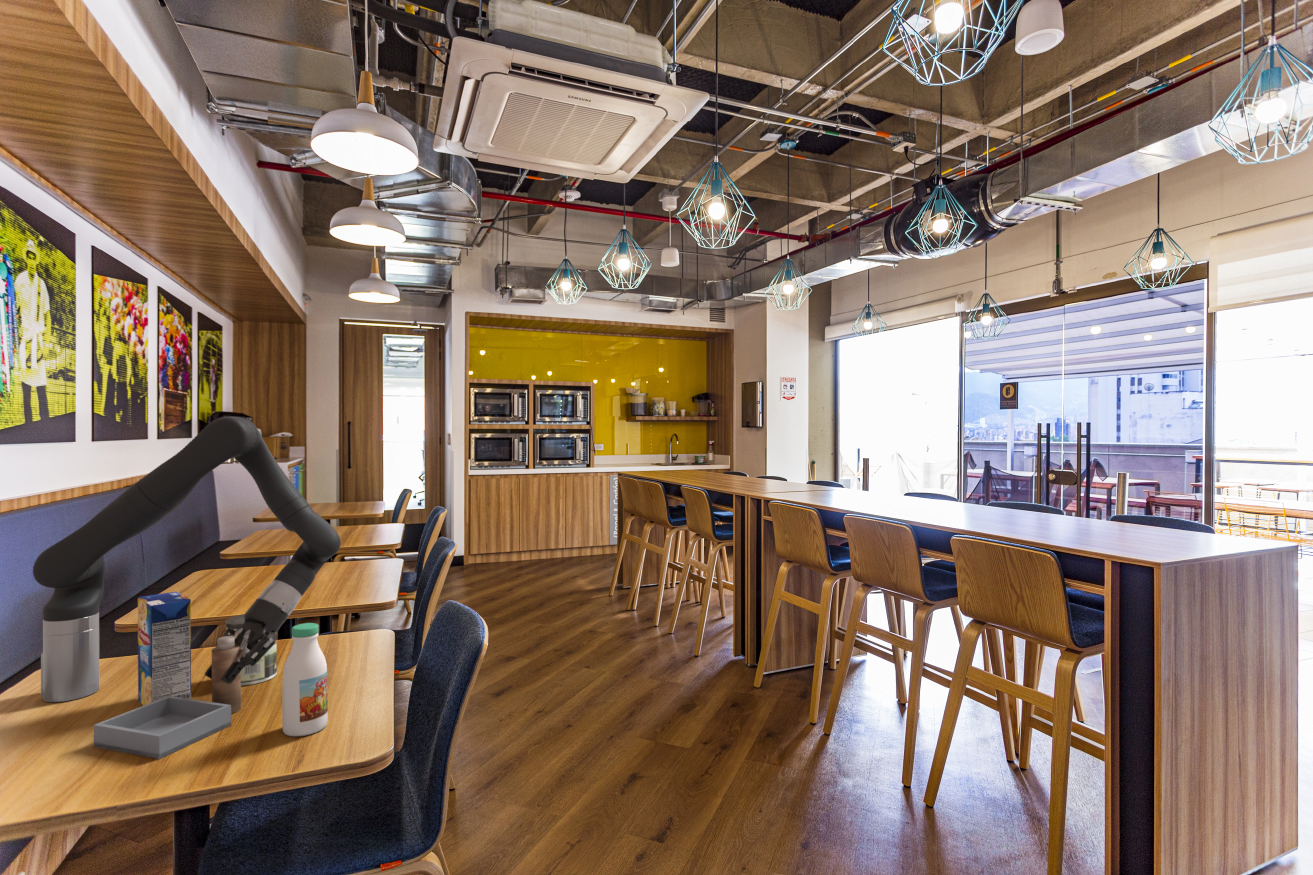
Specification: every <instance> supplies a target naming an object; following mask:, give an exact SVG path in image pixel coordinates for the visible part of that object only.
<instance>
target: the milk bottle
mask: <svg viewBox="0 0 1313 875" xmlns="http://www.w3.org/2000/svg"><path fill="white" fill-rule="evenodd" d="M319 627H320V626H319V624H318V623H314V622H305V623H299V624H296V625H294V626H292V628H291V640H292V646H291V649H290V651H289V654H288V656H287V658H286V660H285V662H284V667H283V671H282V692H281V693H282V696H281V697H282V700H281V701H282V705H281V706H282V709H281V710H282V717H281V718H282V719H281V720H282V732H283V734H284V735H286V736H288V737H305V736H309V735H312V734H316V733H318V732H320V731H322V730H324V728H326V726H327V724H328V720H329V718H328V716H329V713H328V708H329V707H328V704H329V703H328V701H329V700H328V694H329V692H328V691H329V690H328V689H329V688H328V667H327V666H328V665H327V661H326V657H325V655H324V653H323V651H322V649H321V648H320V645H319V642H318V637H319Z"/></svg>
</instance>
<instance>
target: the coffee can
mask: <svg viewBox="0 0 1313 875" xmlns="http://www.w3.org/2000/svg"><path fill="white" fill-rule="evenodd" d="M244 614H245V613H244ZM244 614H243V613H242V614H239V615H235V616H232V617H229V618H228V619H226V620H225V626H226V627H225V631H226V630H227V629H228V628H230V627H231V628H232V629H234V630H235V629H238V628H239V627H240V626H242V625H243V624H244V623H245V619H244ZM269 637H270V638H271V639H273V640H274V641H275V644H274V645H273V646H272V647H271V648H270V649H269V650H268V651H267V652H266V654H265V655H264V656H263V657H262V658H261V659H260V660H259V661H258V662H257V663H256V664H255V665H254V666H251V665H248V666H247V667H244V668H243V669H242V670H241V687H244V686H253V685H257V684H261V683H264V682H267V681H270V680H272V679H273V678H275V677H276V676H277V675H278V671H277V670H278V668H277V666H278V665H277V664H278V663H277V659H278V658H277V632H276V633H274V634H270V635H269ZM262 648H263V647H262ZM257 654H258V653H256V655H257ZM256 655H255V656H254V657H252V658H253V659H254V658H255V657H256ZM244 656H245V655H244Z"/></svg>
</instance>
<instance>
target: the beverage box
mask: <svg viewBox="0 0 1313 875" xmlns="http://www.w3.org/2000/svg"><path fill="white" fill-rule="evenodd" d="M191 603H192V600H191V598H188V597H187V596H185V595H183V594H182V593H180V592H178V591H171V592H163V593H157V594H151V595H145V596H138V597H137V679H138V680H137V685H138V686H137V697H138V698H137V700H138V701H139V703H141V705H142V706H144V705H147V704H149V703H152V702H155V701H157V700H160V699H162V698H165V697H168V696H174V697H181V698H188V699H192V666H191V665H192V659H191V658H192V637H191V636H192V612H191V610H192V604H191Z"/></svg>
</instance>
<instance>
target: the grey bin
mask: <svg viewBox="0 0 1313 875" xmlns="http://www.w3.org/2000/svg"><path fill="white" fill-rule="evenodd" d="M230 726H232V714H231V705H228V704H221V703H214V702H212V701H208V700H207V701H206V700H201V699H193V698H191V699H188V698H181V697H174V696H168V697H165V698H162V699H160V700H157V701H155V702H152V703H149V704H147V705H142V706H139V707H136V708H134V709H132V710H129V711H125V712H124V713H121V714H118V715H116V716H113V717H111V718H108V719H106V720H103V721H100V722H98V723H96V724H93V748H97V749H98V748H99V749H102V748H103V750H110V751H113V750H114V751H115V752H120V753H125V754H131V755H136V756H141V757H145V756H146V757H147V758H152V759H156V760H160V759H163V758H165V757H167V756H169V755H172V754H173V753H176V752H178V751H180V750H182V749H184V748H186V747H188V746H190V745H192V744H194V743H197V742H199V741H201V740H203V739H205V738H207V737H209V736H212V735H214V734H216V733H219V732H220V731H222V730H224V729H227V728H229V727H230Z"/></svg>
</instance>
